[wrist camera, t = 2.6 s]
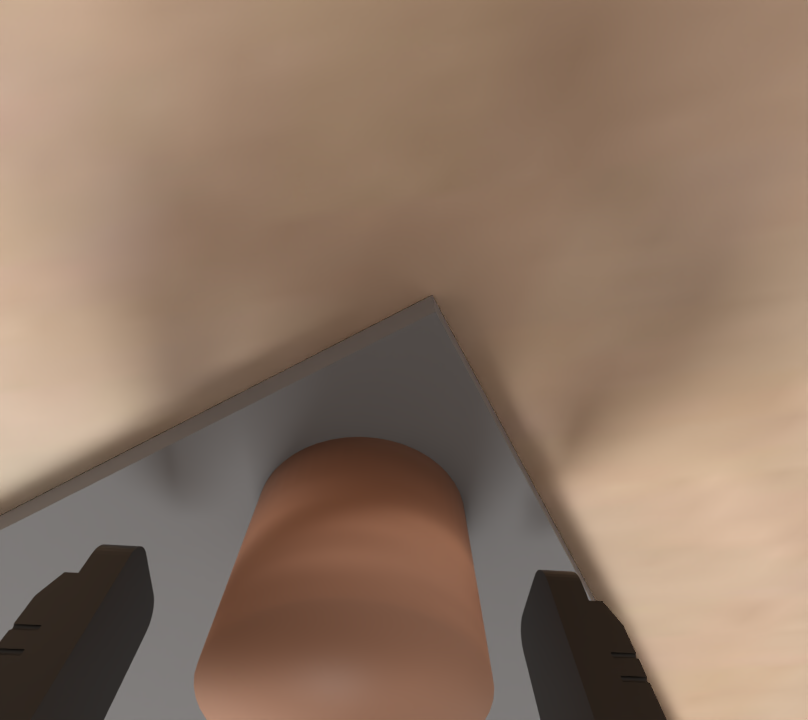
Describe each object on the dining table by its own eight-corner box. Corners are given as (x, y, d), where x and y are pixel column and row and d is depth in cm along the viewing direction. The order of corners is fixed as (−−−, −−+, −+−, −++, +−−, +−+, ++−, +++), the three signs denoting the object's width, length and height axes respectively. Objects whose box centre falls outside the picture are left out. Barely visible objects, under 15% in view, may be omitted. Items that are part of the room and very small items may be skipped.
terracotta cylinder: (403, 401, 10) (406, 553, 7) (497, 551, 12) (538, 730, 9) (214, 489, 11) (128, 662, 8) (329, 615, 13) (304, 799, 10)
